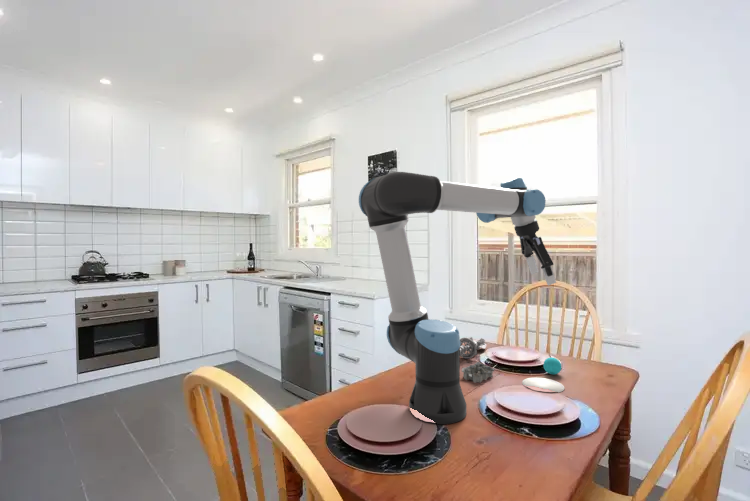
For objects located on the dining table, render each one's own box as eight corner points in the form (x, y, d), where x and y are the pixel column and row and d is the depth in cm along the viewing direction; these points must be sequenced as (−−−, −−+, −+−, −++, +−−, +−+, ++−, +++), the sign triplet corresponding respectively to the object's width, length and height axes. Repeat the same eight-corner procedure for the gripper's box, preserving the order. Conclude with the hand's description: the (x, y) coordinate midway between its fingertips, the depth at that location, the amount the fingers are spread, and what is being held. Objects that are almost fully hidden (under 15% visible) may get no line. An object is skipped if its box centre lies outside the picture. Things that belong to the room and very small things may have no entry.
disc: (559, 396, 111) (559, 395, 111) (517, 386, 119) (517, 386, 119) (568, 383, 121) (568, 383, 121) (528, 375, 128) (528, 374, 128)
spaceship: (431, 345, 136) (450, 340, 132) (473, 335, 163) (490, 331, 159) (437, 368, 134) (457, 364, 129) (478, 354, 161) (496, 350, 157)
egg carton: (477, 385, 121) (477, 372, 121) (459, 378, 127) (459, 366, 127) (496, 377, 128) (496, 365, 128) (478, 371, 133) (478, 359, 133)
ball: (559, 378, 125) (559, 361, 125) (541, 374, 129) (541, 358, 128) (563, 373, 130) (563, 357, 130) (545, 370, 133) (545, 354, 133)
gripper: (552, 222, 118) (571, 284, 122) (521, 213, 142) (538, 265, 146) (528, 232, 118) (548, 293, 122) (502, 221, 143) (519, 272, 147)
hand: (542, 278), depth 134 cm, fingers open, 13 cm apart
